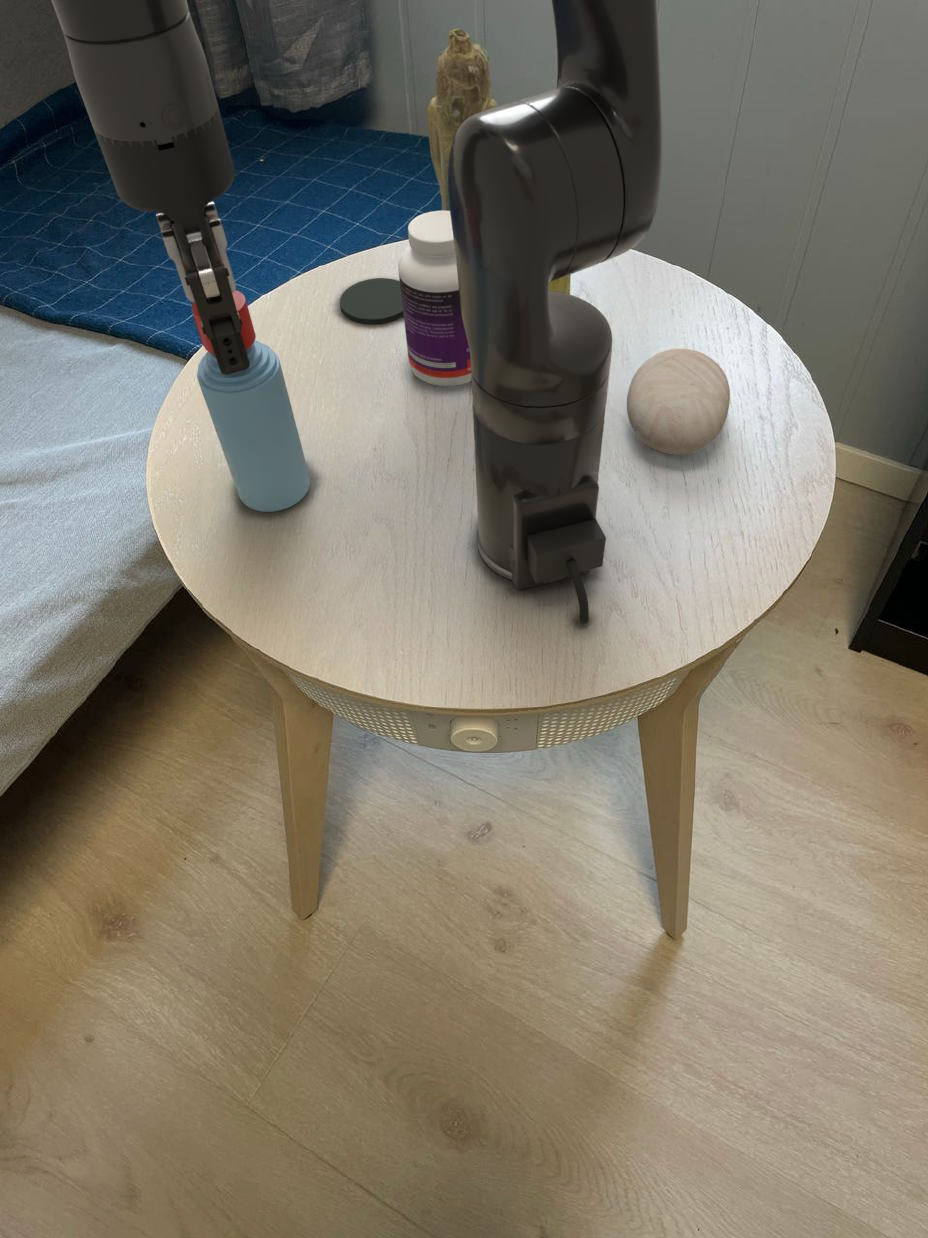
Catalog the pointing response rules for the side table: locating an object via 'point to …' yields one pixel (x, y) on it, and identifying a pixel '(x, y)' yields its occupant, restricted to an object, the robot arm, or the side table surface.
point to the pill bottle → (433, 302)
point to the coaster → (373, 301)
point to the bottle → (256, 429)
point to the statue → (456, 99)
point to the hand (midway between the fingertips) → (230, 352)
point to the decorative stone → (678, 401)
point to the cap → (247, 326)
